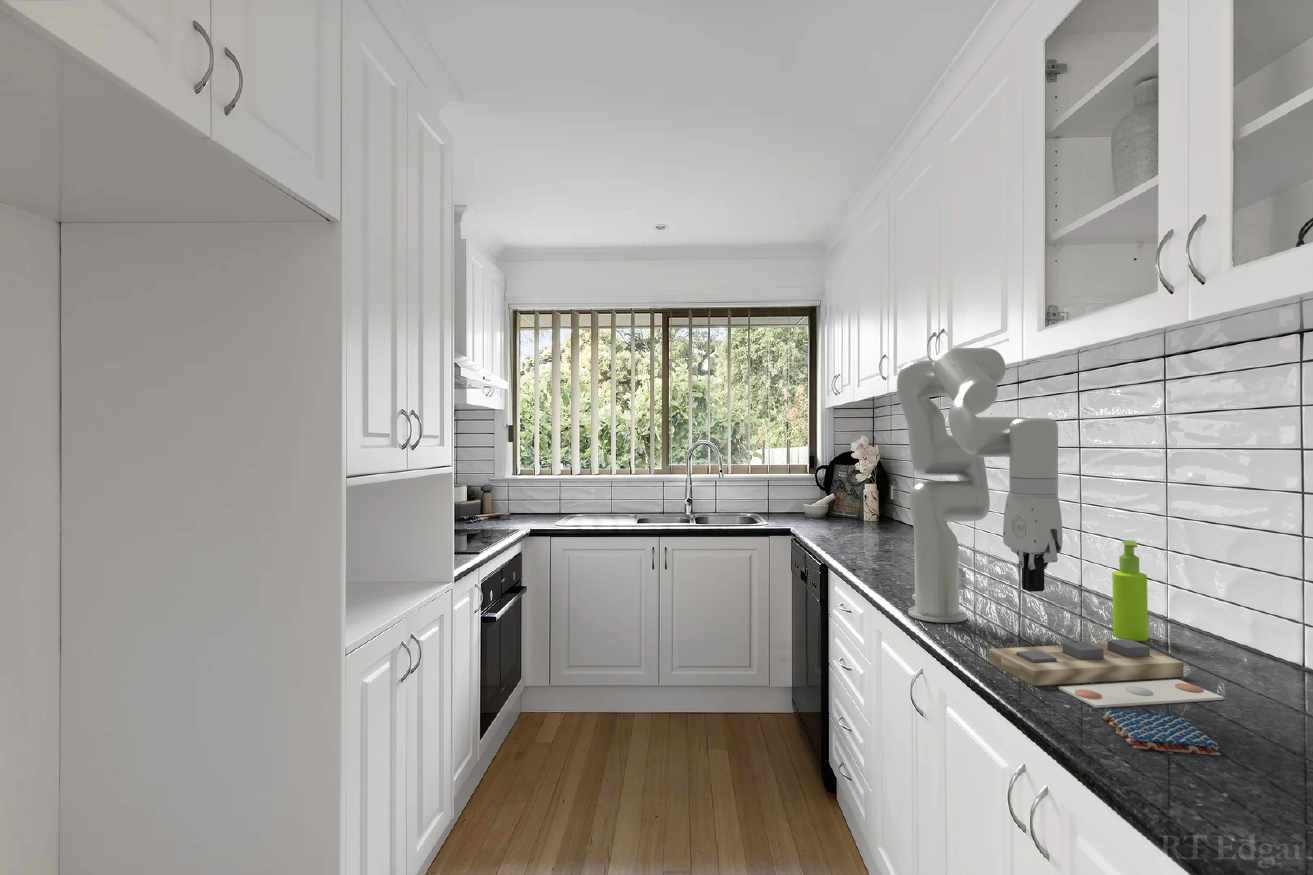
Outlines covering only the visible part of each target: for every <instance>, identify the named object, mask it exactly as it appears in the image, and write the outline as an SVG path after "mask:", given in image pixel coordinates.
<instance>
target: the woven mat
mask: <svg viewBox="0 0 1313 875" xmlns="http://www.w3.org/2000/svg"><path fill="white" fill-rule="evenodd" d="M1105 712H1106V713H1105V715H1104V716H1103V717H1102V718H1103V719H1104V720H1105V721H1108V725H1110V726H1111V728H1115V730H1116V731H1115V733H1116V734H1118V735H1120V736H1121V737H1122V738H1125V741H1126V742H1127V743H1128V744H1129V745H1131V746H1132V747H1133V748H1134V749H1138V750H1139V749H1140V750H1141V749H1142V750H1153V751H1154V750H1155V751H1166V752H1178V753H1187V754H1191V753H1192V754H1200V755H1201V754H1202V755H1213V756H1222V754H1221V753H1220V752H1219V750H1218V749H1219V746H1218V743H1217V742H1215V741H1213V740H1212V739H1211V738H1210V737H1208V735H1207V734H1204V732H1202V731H1200V730H1199V728H1196V727H1195V726H1193V724H1191V723H1190V722H1189V721H1187V720H1186V719H1184V718H1183V717H1182V716H1181V715H1174V714H1173V713H1167V714H1166V715H1165V714H1161V713H1160V712H1154V713H1149V714H1148V712H1147V711H1145V710H1144V711H1141V712H1135V710H1129V712H1128V711H1124V712H1123V710H1122V709H1117V711H1115V710H1112V711H1111V710H1110V709H1109V708H1105Z"/></svg>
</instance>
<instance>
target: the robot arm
mask: <svg viewBox="0 0 1313 875" xmlns="http://www.w3.org/2000/svg"><path fill="white" fill-rule="evenodd" d="M1005 375H1006V363H1005V360H1004V356H1002V354H1001V353H1000V352H998V350H995V349H994V348H990V347H954V348H948V349H944V350H942V351H941V352H939V353H938V354H937V355H936V356H935V358H934V359H929V360H927V359H925V360H923V359H922V360H917V361H911V362H908V363H906V364H904V365H903V366H902V367H901V368H900V370H899V372H898V374H897V380H896V390H897V391H896V392H897V397H898V400H899V404H900V407H901V408H902V411H903V413H904V416H905V420H906V425H907V435H908V443H909V444H908V445H909V452H910V460H911V464H912V468H913V469H914V471H915V472H916V473H917V474H919V475H921V476H934V477H936V476H938V477H939V476H941V477H942V476H948V477H950V476H956V477H957V478H958V480H929V481H928V480H927V481H922V482H919V483H916V484H915V485H914V486H913V487H912V488H911V489H910V490H909V491H910V492H909V494H908V502H909V508H910V512H911V518H912V525H913V527H912V528H913V546H914V553H913V554H914V593H913V594H912V595H911V598H912V600H914V601H915V602H914V606H911V607H909V608H908V610H907V611H908V612H907V613H908V615H909V616H910V617H912V618H914V619H916V620H920V621H924V622H930V623H938V624H952V623H953V624H954V623H961V622H964V621H966V620H967V619H968V615H967V612H965V611H963V610H962V609H960V571H959V568H960V567H959V564H960V563H959V541H958V538H957V536H956V535H955V533H954V531H953V530H952V529H951V527H949V525H948V523H952V522H958V523H959V522H977V521H981V520H983V519H985V518H986V517H987V516H988V514H989V510H990V506H991V505H990V504H991V500H990V492H989V491H990V490H989V483H988V478H987V477H988V476H987V468H986V463H985V458H996V457H997V458H999V457H1000V458H1005V457H1006V458H1009V493H1007V496H1006V500H1005V506H1004V511H1003V512H1004V513H1003V527H1002V542H1003V544H1004V546H1006V547H1007V548H1010V552H1012V553H1013V554H1016V555H1017V558H1018V560H1019V566H1020V567H1021V589H1022V590H1023V591H1026V592H1028V593H1030V592H1031V593H1032V592H1044V591H1045V570H1047V568H1048V564H1050V563H1057V562H1058V559H1059V558H1058V554H1060V553H1061V551H1062V549H1063V523H1062V522H1063V520H1062V513H1061V512H1062V511H1061V510H1062V509H1061V504H1060V499H1059V424H1058V423H1057V421H1056V420H1055V419H1053V418H1047V417H1025V416H1014V417H1013V416H1011V417H1010V416H984V417H981V416H980V417H978V416H976V415H979V414H980V413H983V412H984V411H986V410H988V409H989V408H990V407H991V406H992V405H993V404H994V403H995V401H996V399H997V396H998V393H999V392H998V391H999V390H998V389H999V388H998V386H997V385H999V383H1000V384H1001V382H1002V380H1003V379H1004V377H1005ZM930 397H950V399H951V401H952V402H951V405H950V406H949V411H948V426H949V431H950V434H951V435H949V434H948V432H947V427H946V418H945V416H944V415H945V414H943V411H941V409H940V408H939V407H938V405H937V404H936V403H935V402H933V400H931V399H930Z"/></svg>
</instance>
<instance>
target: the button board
mask: <svg viewBox="0 0 1313 875" xmlns="http://www.w3.org/2000/svg"><path fill="white" fill-rule="evenodd" d="M1091 644H1092V645H1095V646H1097V647H1100V648H1102V649H1103V650H1104V659H1100V660H1082V661H1080V660H1078V659H1076V658H1073V657H1071V656H1069V655H1066V654H1064V653H1063V645H1060V644H1059V645H1044V646H1039V645H1037V646H1024V647H1023V646H1022V647H1019V646H1018V647H1004V648H1001V647H1000V648H989V650H988V652H989V653H988V657H989V660H988V662H989V664H991V665H993V666H994V667H997V668H998V669H1000V670H1003V671H1004V672H1006V673H1008V674H1010V675H1013V676H1014V677H1016V678H1018V679H1020V680H1022V681H1024V682H1025V683H1027V684H1029V685H1030V686H1034V687H1035V686H1037V687H1038V686H1052V685H1068V684H1069V685H1071V684H1082V683H1083V684H1086V683H1100V682H1101V683H1103V682H1117V681H1118V682H1119V681H1121V682H1122V681H1132V680H1134V681H1135V680H1136V681H1137V680H1150V679H1151V680H1152V679H1153V680H1154V679H1166V678H1167V679H1168V678H1182V677H1184V661H1182V660H1178V659H1176V658H1172V657H1169V656H1167V655H1164V654H1162V653H1158V652H1156V651H1153V650H1151V649H1150V657H1135V658H1126V657H1123V656H1121V655H1118V654H1116V653H1113V652H1110V651H1108V642H1100V643H1099V642H1098V643H1091ZM1038 650H1039V651H1042V652H1044V653H1046V654H1048V655H1051V656H1053V657H1055V658H1057V662H1046V663H1031V662H1029V661H1027V660H1025V659H1023V658H1021V657H1019V656H1017V652H1019V651H1038Z"/></svg>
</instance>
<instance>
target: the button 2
mask: <svg viewBox="0 0 1313 875" xmlns="http://www.w3.org/2000/svg"><path fill="white" fill-rule="evenodd" d="M1092 644H1093V643H1089V642H1087V641H1075V642H1073V641H1072V642H1071V641H1070V642H1062V645H1063V653H1064V654H1066V655H1069V656H1071V657H1073V658H1076V659H1078V660H1080V661H1082V660H1100V659H1104V650H1103V649H1102V648H1100V647H1097V646H1095V645H1092Z"/></svg>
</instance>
